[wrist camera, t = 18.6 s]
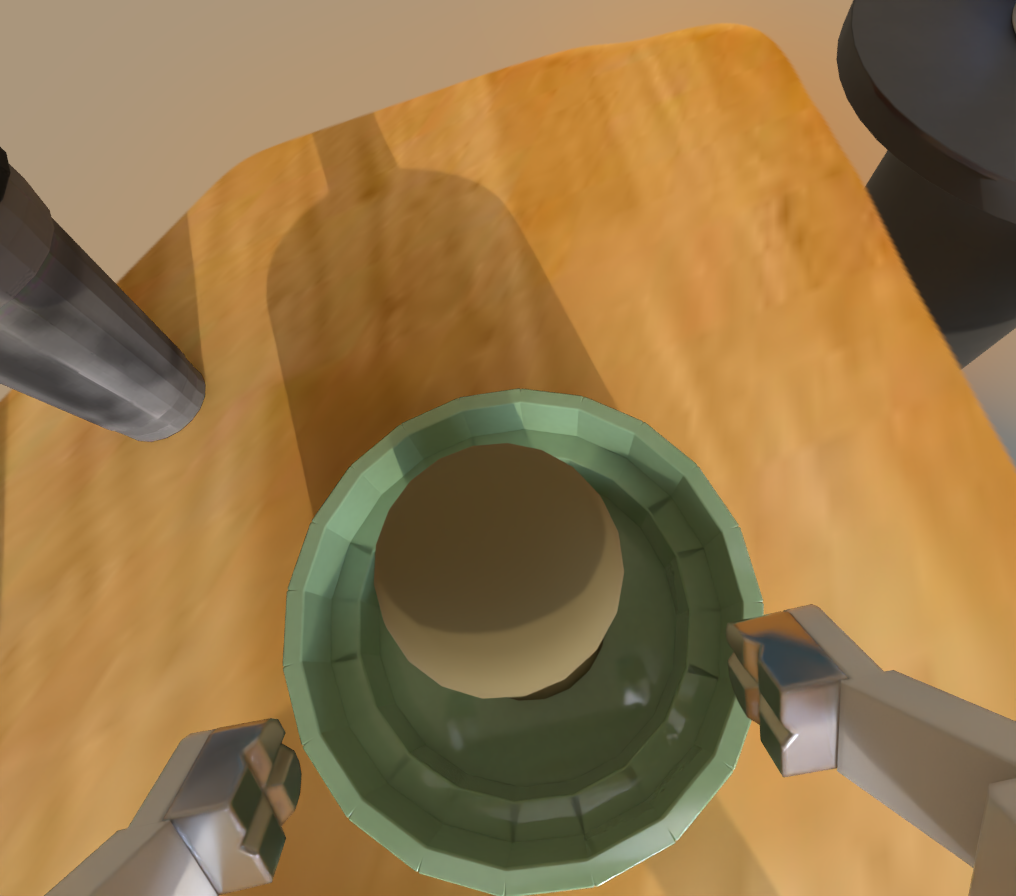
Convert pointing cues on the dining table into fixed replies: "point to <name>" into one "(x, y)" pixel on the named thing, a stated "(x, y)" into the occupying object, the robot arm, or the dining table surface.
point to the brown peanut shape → (499, 572)
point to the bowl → (528, 723)
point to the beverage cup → (82, 330)
